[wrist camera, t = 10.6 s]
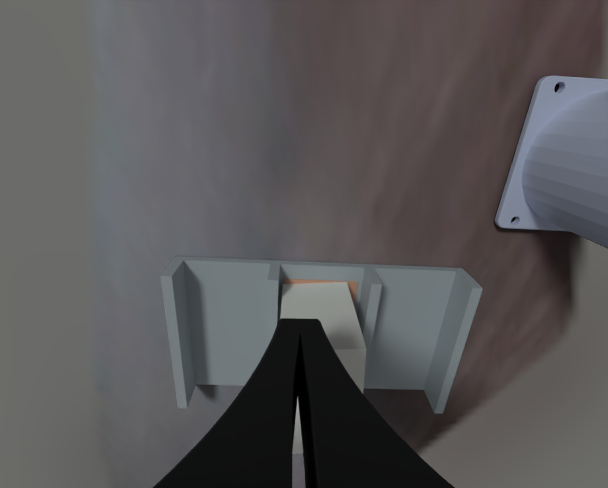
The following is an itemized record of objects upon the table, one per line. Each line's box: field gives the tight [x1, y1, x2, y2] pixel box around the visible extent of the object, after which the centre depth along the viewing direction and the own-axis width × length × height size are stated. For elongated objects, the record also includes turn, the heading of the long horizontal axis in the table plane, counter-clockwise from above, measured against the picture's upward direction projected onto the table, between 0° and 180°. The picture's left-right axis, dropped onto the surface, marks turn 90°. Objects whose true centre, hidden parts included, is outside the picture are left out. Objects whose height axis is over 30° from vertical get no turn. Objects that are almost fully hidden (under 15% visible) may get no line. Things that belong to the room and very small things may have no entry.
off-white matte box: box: [280, 282, 366, 454], centre depth 19 cm, size 4×7×6 cm, turn 1°
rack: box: [160, 256, 483, 414], centre depth 21 cm, size 18×10×2 cm, turn 87°
